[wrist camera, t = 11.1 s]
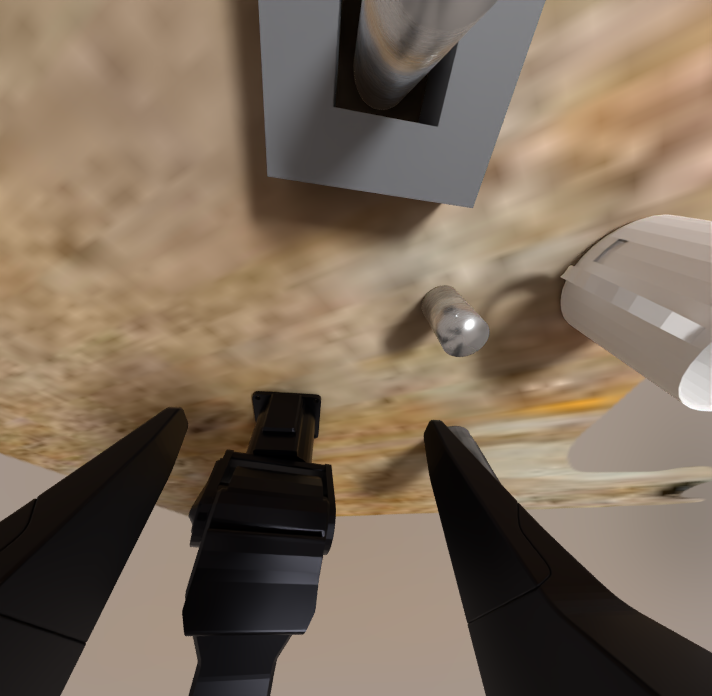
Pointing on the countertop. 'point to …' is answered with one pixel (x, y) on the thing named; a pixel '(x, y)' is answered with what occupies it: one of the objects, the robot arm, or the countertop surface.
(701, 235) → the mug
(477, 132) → the hole block
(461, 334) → the short pin
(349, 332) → the countertop surface
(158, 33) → the countertop surface
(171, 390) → the countertop surface
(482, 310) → the countertop surface
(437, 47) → the long pin
